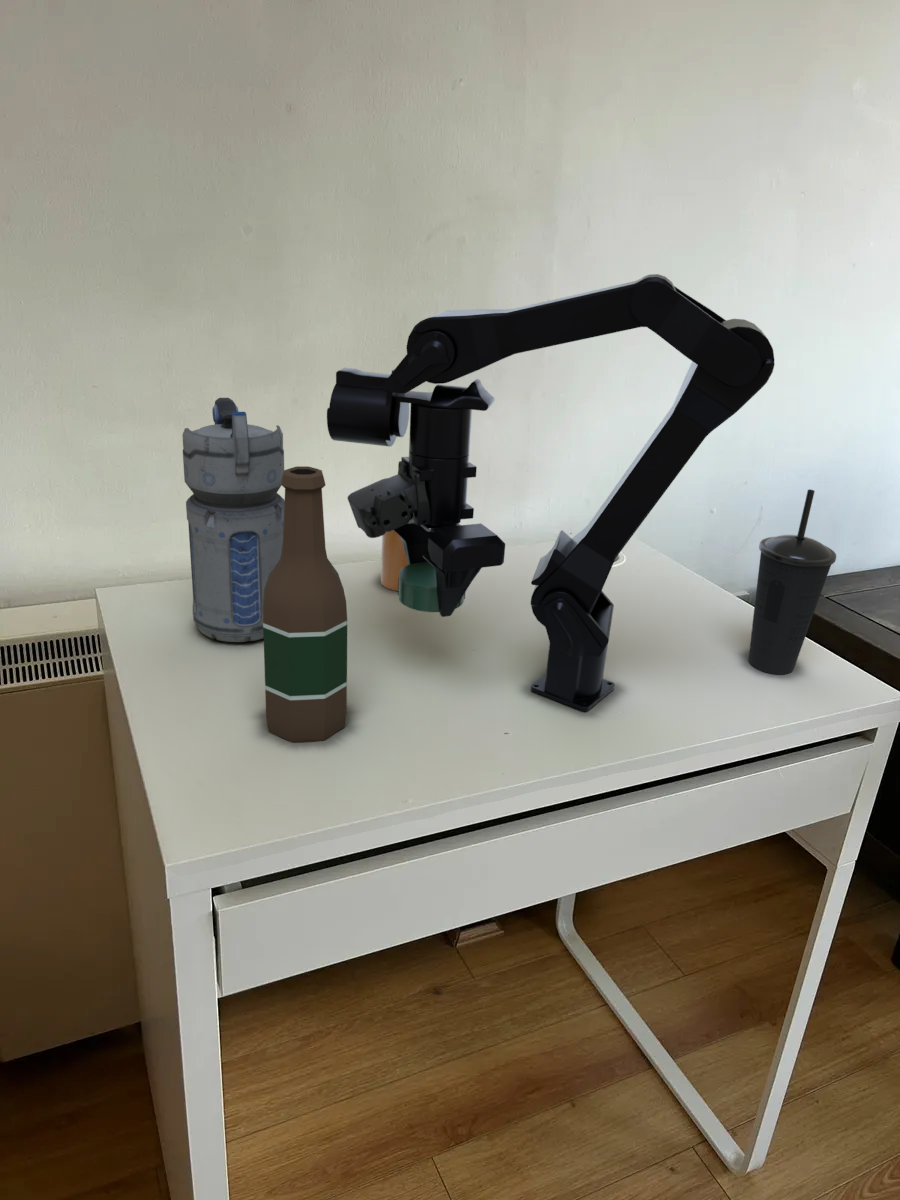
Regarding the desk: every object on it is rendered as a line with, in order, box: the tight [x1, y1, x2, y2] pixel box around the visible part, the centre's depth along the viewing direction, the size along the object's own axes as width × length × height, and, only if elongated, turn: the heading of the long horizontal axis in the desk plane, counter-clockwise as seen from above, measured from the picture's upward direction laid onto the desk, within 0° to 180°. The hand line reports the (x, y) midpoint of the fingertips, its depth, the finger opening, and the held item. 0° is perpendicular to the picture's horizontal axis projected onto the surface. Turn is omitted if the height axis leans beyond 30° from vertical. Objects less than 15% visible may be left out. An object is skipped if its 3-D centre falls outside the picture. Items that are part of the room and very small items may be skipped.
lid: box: [397, 562, 466, 613], centre depth 91 cm, size 7×7×3 cm
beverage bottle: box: [181, 397, 285, 643], centre depth 96 cm, size 10×13×25 cm
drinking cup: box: [748, 489, 837, 675], centre depth 95 cm, size 8×8×20 cm
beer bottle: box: [263, 465, 348, 743], centre depth 78 cm, size 8×8×24 cm
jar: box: [380, 530, 408, 592], centre depth 113 cm, size 6×6×11 cm
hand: (431, 602), depth 91 cm, fingers closed on lid, 6 cm apart
